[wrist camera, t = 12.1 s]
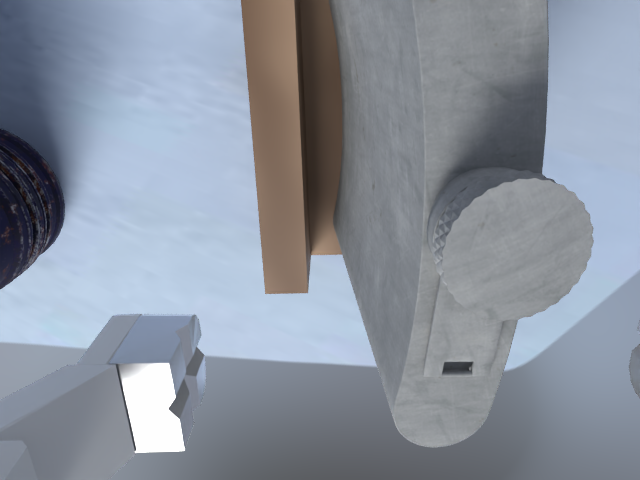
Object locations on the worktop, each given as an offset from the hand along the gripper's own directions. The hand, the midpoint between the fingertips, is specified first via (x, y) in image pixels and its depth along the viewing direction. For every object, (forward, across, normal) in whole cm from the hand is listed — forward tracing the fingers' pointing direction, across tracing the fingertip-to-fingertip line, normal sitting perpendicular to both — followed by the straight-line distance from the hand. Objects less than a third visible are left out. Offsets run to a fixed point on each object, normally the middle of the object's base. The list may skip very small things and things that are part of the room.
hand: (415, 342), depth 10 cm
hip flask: (+23, 0, 0) cm, 23 cm away
